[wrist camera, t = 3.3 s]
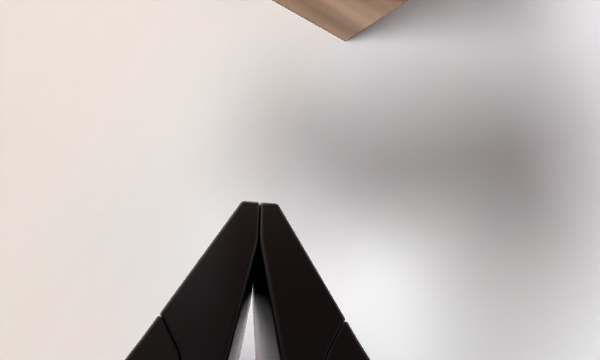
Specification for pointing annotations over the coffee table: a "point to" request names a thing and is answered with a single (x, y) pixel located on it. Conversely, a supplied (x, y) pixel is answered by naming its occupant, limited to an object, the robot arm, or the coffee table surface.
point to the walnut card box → (342, 13)
